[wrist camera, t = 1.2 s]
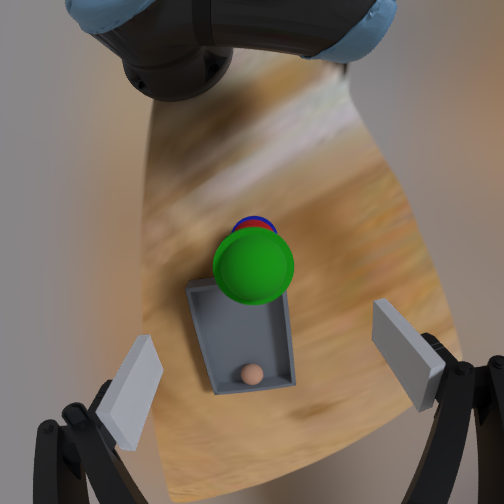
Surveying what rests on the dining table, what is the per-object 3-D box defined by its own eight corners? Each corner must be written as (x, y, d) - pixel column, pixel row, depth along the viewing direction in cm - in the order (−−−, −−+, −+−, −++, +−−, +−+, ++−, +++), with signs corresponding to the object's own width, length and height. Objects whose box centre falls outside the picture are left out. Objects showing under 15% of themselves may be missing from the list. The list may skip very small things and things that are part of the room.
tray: (189, 280, 41) (185, 288, 38) (281, 267, 40) (284, 274, 37) (216, 383, 46) (214, 394, 43) (293, 373, 45) (296, 385, 42)
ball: (239, 360, 44) (238, 374, 40) (261, 357, 44) (262, 371, 40) (242, 376, 45) (242, 390, 41) (264, 374, 45) (265, 387, 41)
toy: (219, 264, 40) (205, 314, 26) (226, 207, 38) (213, 229, 24) (275, 271, 41) (290, 324, 26) (284, 215, 38) (307, 242, 24)
